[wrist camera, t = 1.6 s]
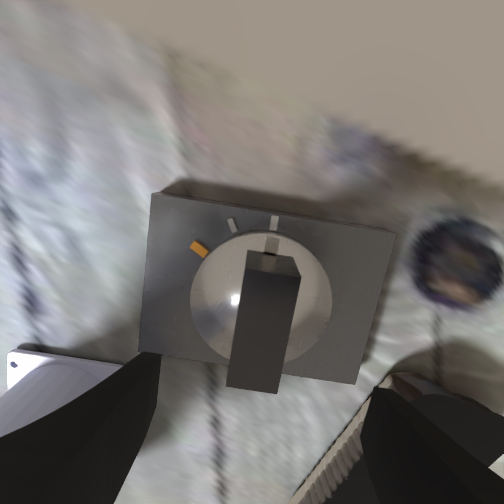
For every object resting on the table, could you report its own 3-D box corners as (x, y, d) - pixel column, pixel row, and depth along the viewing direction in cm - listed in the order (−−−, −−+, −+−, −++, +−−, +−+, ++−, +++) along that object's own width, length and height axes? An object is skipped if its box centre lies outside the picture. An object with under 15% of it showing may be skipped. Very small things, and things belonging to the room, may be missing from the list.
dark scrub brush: (394, 345, 22) (420, 379, 19) (491, 400, 23) (534, 442, 19) (271, 504, 26) (273, 557, 22) (359, 546, 27) (375, 604, 23)
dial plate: (348, 370, 22) (356, 386, 21) (145, 339, 22) (136, 353, 20) (386, 229, 20) (398, 234, 18) (159, 191, 19) (150, 193, 18)
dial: (313, 367, 20) (328, 419, 16) (185, 347, 20) (166, 395, 16) (342, 243, 18) (368, 265, 14) (201, 220, 18) (184, 236, 14)
